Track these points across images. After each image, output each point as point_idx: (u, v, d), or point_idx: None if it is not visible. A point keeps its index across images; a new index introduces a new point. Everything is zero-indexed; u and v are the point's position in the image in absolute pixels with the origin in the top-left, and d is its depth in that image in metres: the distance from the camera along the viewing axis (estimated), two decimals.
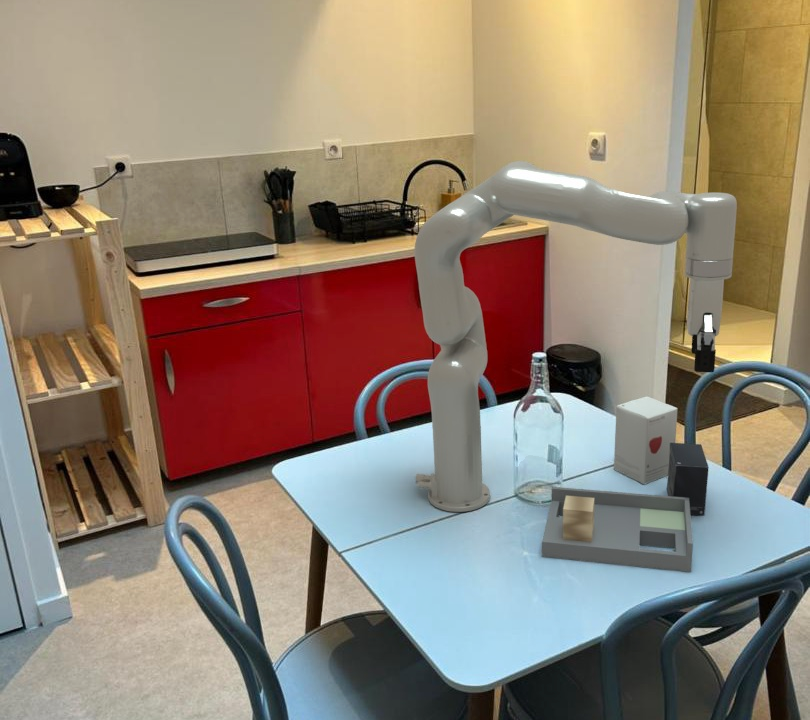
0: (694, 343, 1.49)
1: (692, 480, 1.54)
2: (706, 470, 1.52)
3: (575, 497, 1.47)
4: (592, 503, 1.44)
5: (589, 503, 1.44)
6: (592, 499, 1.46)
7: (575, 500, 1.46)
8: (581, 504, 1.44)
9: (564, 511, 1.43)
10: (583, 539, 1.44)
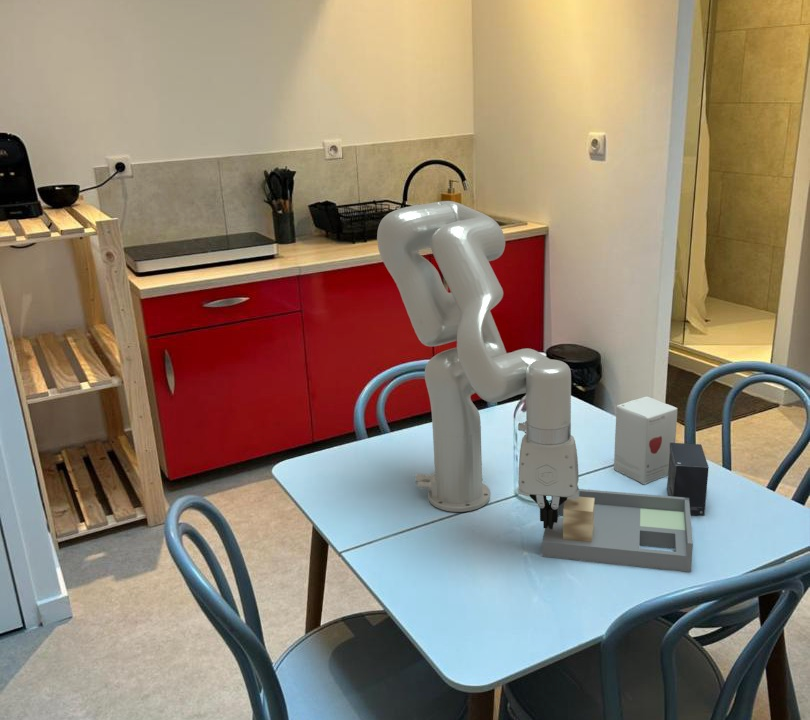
0: (547, 518, 1.46)
1: (692, 480, 1.54)
2: (706, 470, 1.52)
3: None
4: (592, 503, 1.44)
5: (589, 503, 1.44)
6: (592, 499, 1.46)
7: (575, 500, 1.46)
8: (581, 504, 1.44)
9: (564, 511, 1.43)
10: (583, 539, 1.44)
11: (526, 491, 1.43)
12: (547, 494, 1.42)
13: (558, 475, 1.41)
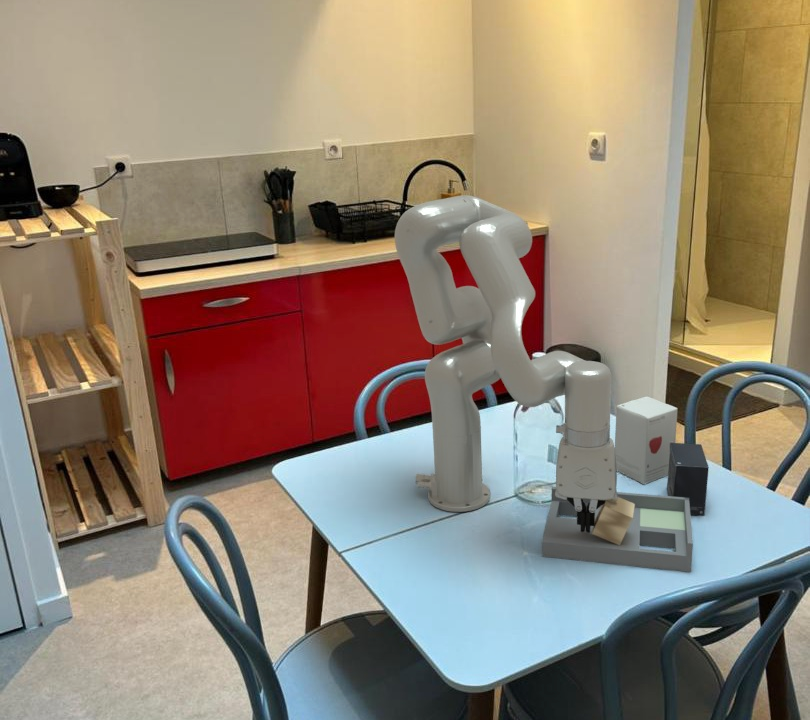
0: (584, 521, 1.44)
1: (692, 480, 1.54)
2: (706, 470, 1.52)
3: None
4: (632, 509, 1.42)
5: (629, 508, 1.42)
6: (632, 504, 1.44)
7: None
8: (622, 506, 1.42)
9: (605, 508, 1.41)
10: (612, 540, 1.42)
11: (564, 494, 1.42)
12: (585, 497, 1.41)
13: (597, 478, 1.39)
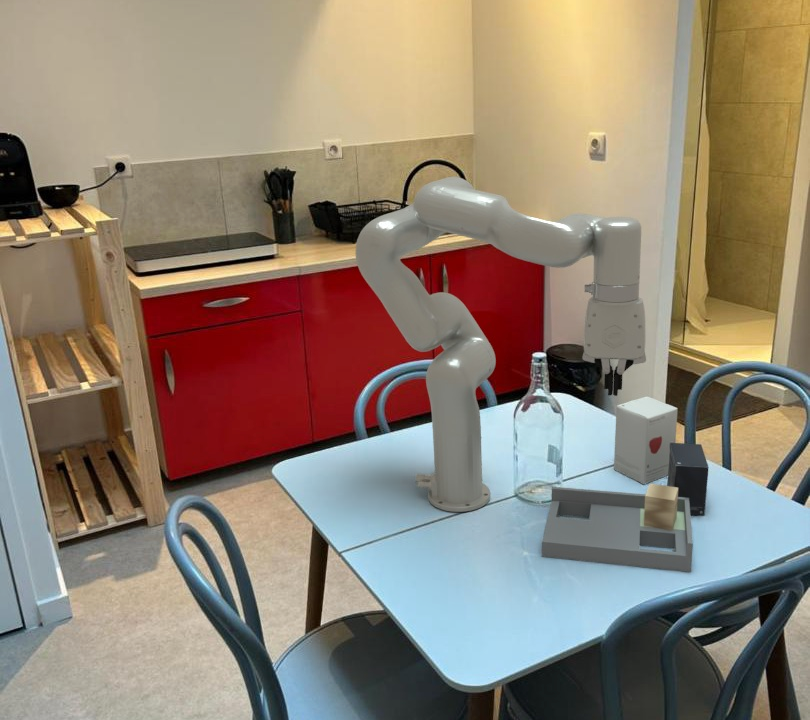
0: None
1: (692, 480, 1.54)
2: (706, 470, 1.52)
3: (659, 485, 1.49)
4: (675, 492, 1.46)
5: (672, 492, 1.46)
6: (676, 489, 1.48)
7: (658, 488, 1.48)
8: (664, 493, 1.46)
9: (646, 498, 1.46)
10: (664, 527, 1.46)
11: (592, 355, 1.41)
12: (614, 357, 1.40)
13: (626, 336, 1.38)
